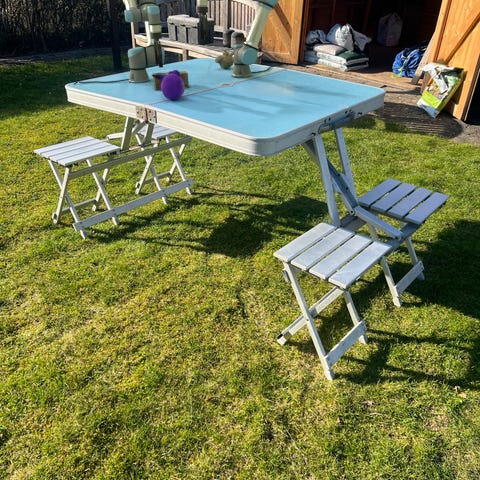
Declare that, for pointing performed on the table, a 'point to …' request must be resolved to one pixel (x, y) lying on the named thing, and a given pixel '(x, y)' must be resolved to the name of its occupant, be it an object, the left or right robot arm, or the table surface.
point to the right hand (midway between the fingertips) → (204, 40)
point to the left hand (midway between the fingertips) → (159, 66)
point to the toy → (171, 85)
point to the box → (158, 83)
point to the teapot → (225, 59)
